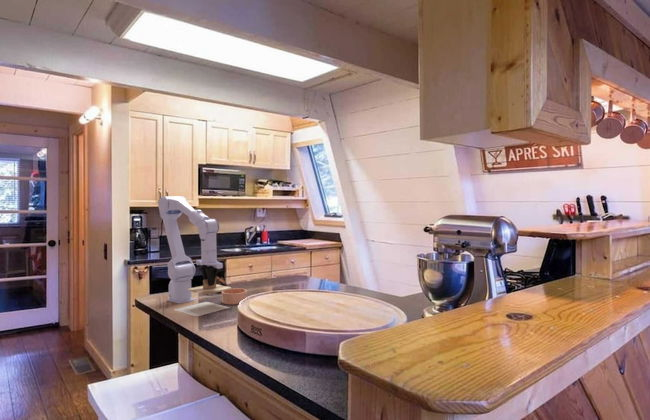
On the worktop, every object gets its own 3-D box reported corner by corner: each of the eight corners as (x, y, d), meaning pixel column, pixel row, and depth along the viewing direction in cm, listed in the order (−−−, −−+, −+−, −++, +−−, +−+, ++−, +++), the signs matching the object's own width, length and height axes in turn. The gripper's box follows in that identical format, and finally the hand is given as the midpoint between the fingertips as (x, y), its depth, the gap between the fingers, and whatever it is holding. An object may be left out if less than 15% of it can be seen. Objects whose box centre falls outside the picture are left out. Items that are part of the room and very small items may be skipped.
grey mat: (173, 310, 161) (173, 309, 161) (206, 302, 173) (206, 301, 173) (196, 317, 152) (196, 316, 152) (229, 308, 164) (229, 307, 164)
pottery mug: (227, 296, 185) (217, 281, 183) (209, 305, 187) (199, 290, 185) (234, 283, 197) (224, 269, 195) (217, 292, 198) (207, 277, 196)
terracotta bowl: (217, 302, 173) (216, 291, 173) (236, 297, 180) (236, 287, 180) (232, 306, 166) (232, 295, 166) (252, 301, 174) (251, 290, 174)
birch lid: (187, 290, 164) (187, 279, 164) (213, 285, 173) (213, 275, 173) (205, 294, 156) (205, 283, 156) (231, 289, 166) (231, 278, 165)
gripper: (189, 249, 166) (190, 284, 166) (211, 253, 157) (212, 289, 157) (204, 248, 171) (205, 281, 172) (226, 250, 162) (227, 286, 162)
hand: (209, 285), depth 165 cm, fingers closed on birch lid
